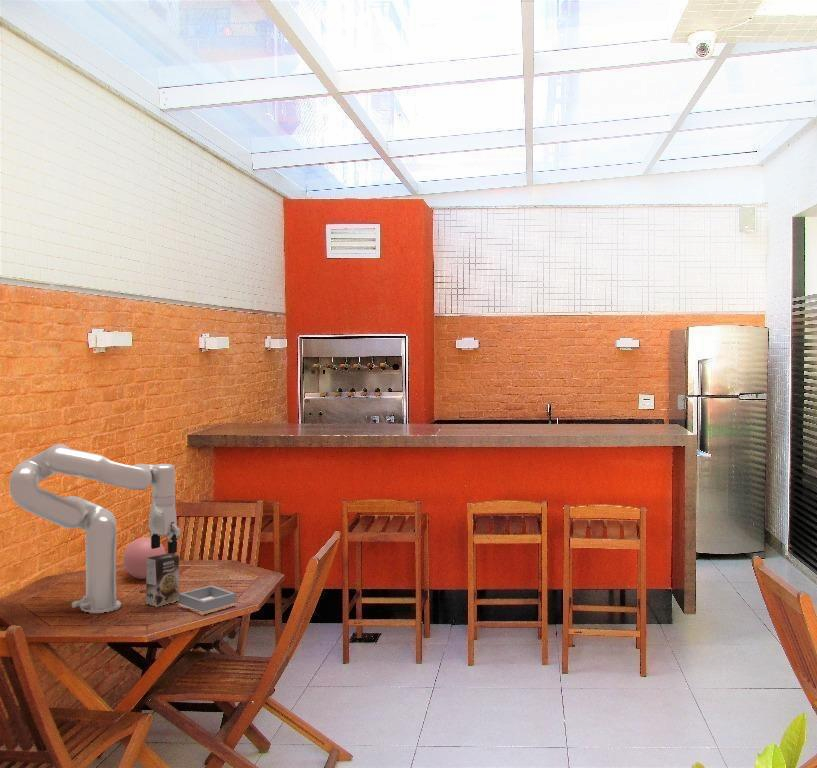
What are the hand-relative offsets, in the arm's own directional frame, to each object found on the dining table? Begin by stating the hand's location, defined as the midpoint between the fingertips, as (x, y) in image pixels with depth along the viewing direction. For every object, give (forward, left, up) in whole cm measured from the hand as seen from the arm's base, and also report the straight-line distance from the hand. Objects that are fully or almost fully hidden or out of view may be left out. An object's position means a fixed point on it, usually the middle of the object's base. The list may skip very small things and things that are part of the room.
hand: (163, 550), depth 291 cm
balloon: (+13, +32, -18) cm, 39 cm away
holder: (+8, -14, -18) cm, 24 cm away
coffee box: (0, 0, -18) cm, 18 cm away
